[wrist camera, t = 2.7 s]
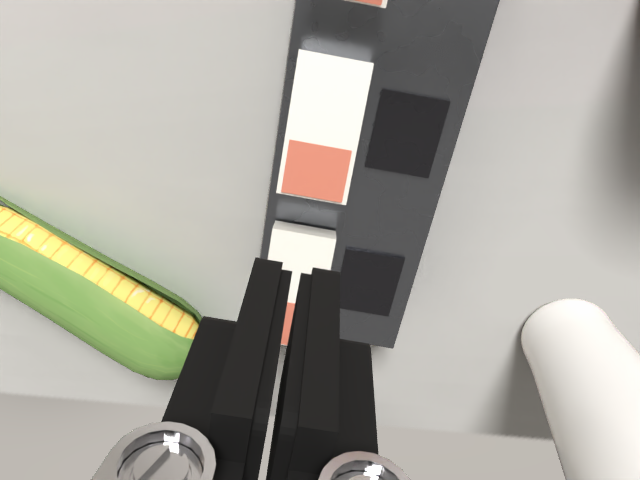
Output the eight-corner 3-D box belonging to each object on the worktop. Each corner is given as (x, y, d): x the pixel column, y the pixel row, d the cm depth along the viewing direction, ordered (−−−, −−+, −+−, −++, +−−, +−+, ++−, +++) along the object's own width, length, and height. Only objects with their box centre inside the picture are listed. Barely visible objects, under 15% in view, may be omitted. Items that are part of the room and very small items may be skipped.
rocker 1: (370, 64, 22) (374, 63, 21) (344, 198, 24) (346, 205, 22) (300, 51, 22) (298, 48, 21) (278, 186, 24) (275, 193, 22)
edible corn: (176, 410, 32) (206, 382, 30) (-151, 227, 28) (-153, 174, 25) (209, 344, 36) (239, 314, 33) (-75, 174, 32) (-69, 122, 29)
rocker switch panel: (523, -166, 22) (562, -193, 18) (388, 306, 33) (393, 354, 29) (329, -206, 21) (325, -243, 17) (259, 284, 33) (247, 330, 29)
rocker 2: (335, 231, 26) (336, 240, 25) (315, 336, 28) (314, 351, 26) (275, 220, 26) (272, 229, 24) (258, 327, 28) (254, 341, 26)
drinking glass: (623, 356, 34) (798, 609, 21) (516, 380, 35) (617, 632, 22) (612, 270, 31) (807, 501, 18) (496, 300, 33) (598, 536, 19)
